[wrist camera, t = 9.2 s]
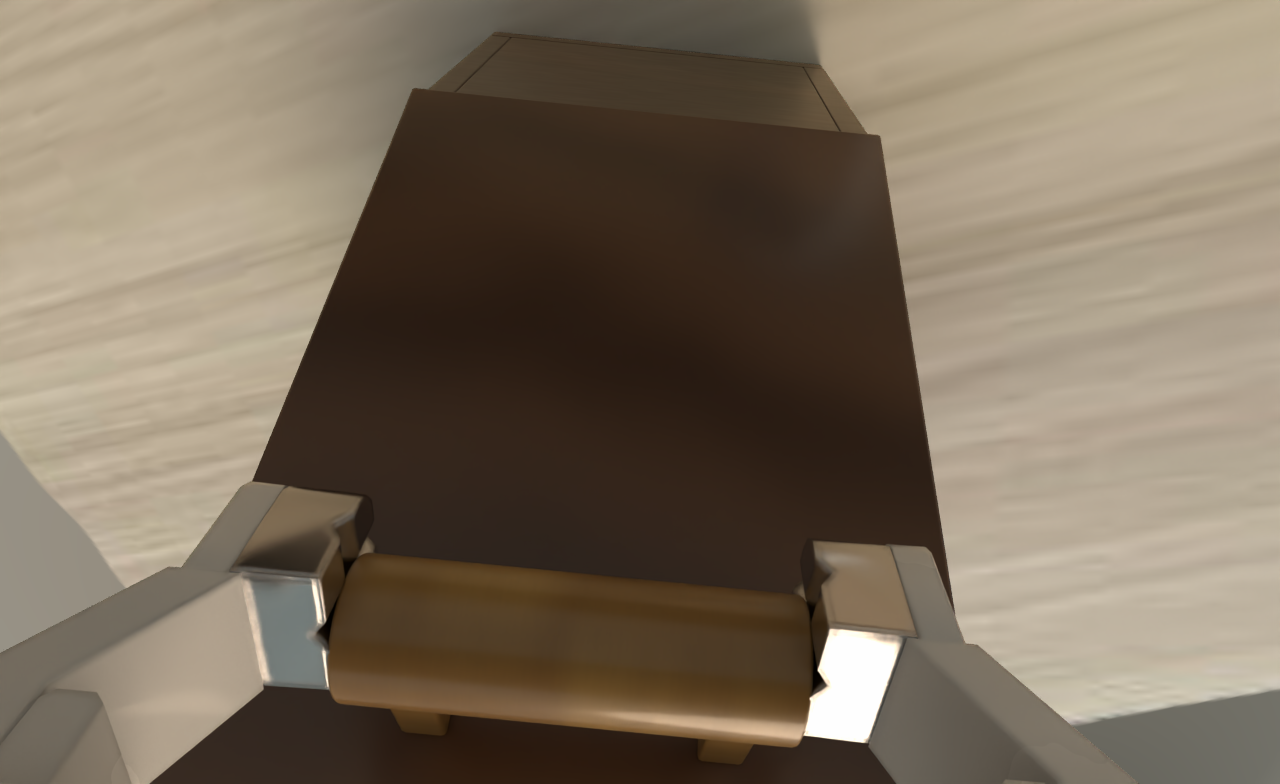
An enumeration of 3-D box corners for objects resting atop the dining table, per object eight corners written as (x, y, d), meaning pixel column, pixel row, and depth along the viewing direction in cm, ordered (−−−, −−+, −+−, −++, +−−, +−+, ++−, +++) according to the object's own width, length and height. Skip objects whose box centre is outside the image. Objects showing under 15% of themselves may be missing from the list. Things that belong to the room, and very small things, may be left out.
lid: (988, 954, 12) (1185, 913, 8) (117, 871, 12) (-99, 791, 8) (872, 158, 24) (934, -21, 20) (416, 112, 23) (385, -77, 19)
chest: (750, 439, 42) (768, 600, 33) (494, 414, 42) (441, 568, 33) (821, 64, 33) (873, 142, 24) (494, 31, 33) (419, 95, 24)
